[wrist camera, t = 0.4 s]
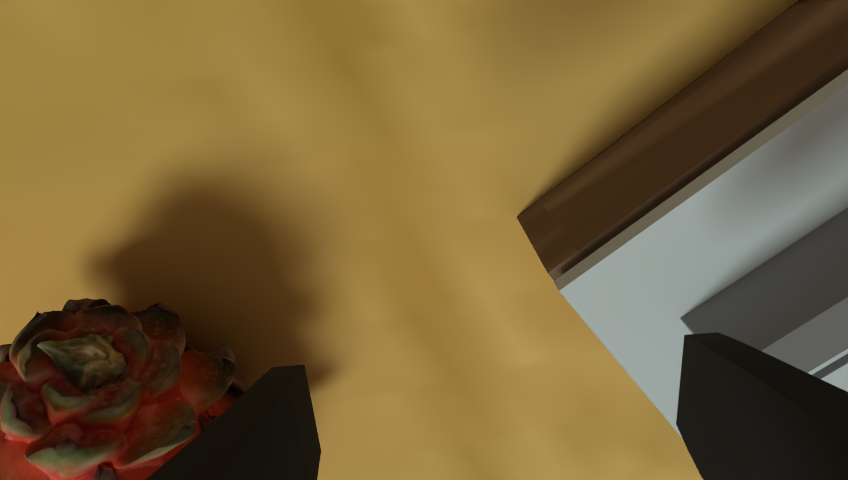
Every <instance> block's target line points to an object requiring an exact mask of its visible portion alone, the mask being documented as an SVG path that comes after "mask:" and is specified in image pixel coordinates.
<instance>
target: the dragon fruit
mask: <svg viewBox="0 0 848 480" xmlns="http://www.w3.org/2000/svg"><path fill="white" fill-rule="evenodd" d="M236 373H237V362H236V358H235V354H234V352H233V351H232V350H231V349H230V348H229V347H228V346H227V344H224V345H222V346H220V347H218V348H216V350H215V352H214V353H210V352H205V353H204V352H197V351H196V350H195V349H194V348H193V347H192V346H191V345H190V344H189V343H187V342H186V337H185V332H184V329H183V326H182V323H181V321H180V318H179V316H178V314H177V313H175V312H174V311H173V310H172V309H171V308H169V307H167V306H165V305H163V304H162V303H156V304H154V305H152V306H150V307H148V308H147V309H145V310H143V311H137V312H132V313H129V312H128V311H127V310H126V309H125V308H123V307H122V306H120V305H111V304H110V303H108V302H107V301H106V300H105V299H98V300H93V299H88V298H86V299H80V300H71V299H70V300H68V301H67V303H66V304H65V305H64V308H63V310H62V311H51V312H43V313H42V314H41V313H38V312H37V313H36V315H35V317H34V318H33V319H32V320H31V321H30V322H29V323H28V324H27V325H26V326H25V327H24V328H23V329H22V330H21V331H20V333H19V334H18V335H17V336H16V338H15V339H14V341H13V343H12V344H6V345H1V346H0V480H145V479H147V478H148V477H149V476H150V475H152V474H153V473H154V472H155V471H156V470H158V469H159V468H160V467H161V466H162V465H163V464H165V463H166V462H167V461H168V460H169V459H171V458H172V457H173V456H174V455H175V454H177V453H178V452H179V451H180V450H181V449H183V448H184V447H185V446H186V445H187V444H188V443H190V442H191V441H192V440H193V439H194V438H196V437H197V436H198V435H199V434H200V433H201V432H202V431H204V430H205V429H206V428H207V427H208V426H209V425H210V424H211V423H212V422H213V421H214V420H216V419H217V418H218V417H219V416H220V415H221V414H222V413H223V412H224V411H225V410H226V409H228V408H229V407H230V406H231V405H232V404H233V403H234V402H235V401H236V400H237V399H238V398H239V397H240V396H242V395H243V394H244V393H245V392H246V391H247V389H246V386H245V384H244V382H243V381H241V380H239V379H237V378H236V377H235V374H236Z"/></svg>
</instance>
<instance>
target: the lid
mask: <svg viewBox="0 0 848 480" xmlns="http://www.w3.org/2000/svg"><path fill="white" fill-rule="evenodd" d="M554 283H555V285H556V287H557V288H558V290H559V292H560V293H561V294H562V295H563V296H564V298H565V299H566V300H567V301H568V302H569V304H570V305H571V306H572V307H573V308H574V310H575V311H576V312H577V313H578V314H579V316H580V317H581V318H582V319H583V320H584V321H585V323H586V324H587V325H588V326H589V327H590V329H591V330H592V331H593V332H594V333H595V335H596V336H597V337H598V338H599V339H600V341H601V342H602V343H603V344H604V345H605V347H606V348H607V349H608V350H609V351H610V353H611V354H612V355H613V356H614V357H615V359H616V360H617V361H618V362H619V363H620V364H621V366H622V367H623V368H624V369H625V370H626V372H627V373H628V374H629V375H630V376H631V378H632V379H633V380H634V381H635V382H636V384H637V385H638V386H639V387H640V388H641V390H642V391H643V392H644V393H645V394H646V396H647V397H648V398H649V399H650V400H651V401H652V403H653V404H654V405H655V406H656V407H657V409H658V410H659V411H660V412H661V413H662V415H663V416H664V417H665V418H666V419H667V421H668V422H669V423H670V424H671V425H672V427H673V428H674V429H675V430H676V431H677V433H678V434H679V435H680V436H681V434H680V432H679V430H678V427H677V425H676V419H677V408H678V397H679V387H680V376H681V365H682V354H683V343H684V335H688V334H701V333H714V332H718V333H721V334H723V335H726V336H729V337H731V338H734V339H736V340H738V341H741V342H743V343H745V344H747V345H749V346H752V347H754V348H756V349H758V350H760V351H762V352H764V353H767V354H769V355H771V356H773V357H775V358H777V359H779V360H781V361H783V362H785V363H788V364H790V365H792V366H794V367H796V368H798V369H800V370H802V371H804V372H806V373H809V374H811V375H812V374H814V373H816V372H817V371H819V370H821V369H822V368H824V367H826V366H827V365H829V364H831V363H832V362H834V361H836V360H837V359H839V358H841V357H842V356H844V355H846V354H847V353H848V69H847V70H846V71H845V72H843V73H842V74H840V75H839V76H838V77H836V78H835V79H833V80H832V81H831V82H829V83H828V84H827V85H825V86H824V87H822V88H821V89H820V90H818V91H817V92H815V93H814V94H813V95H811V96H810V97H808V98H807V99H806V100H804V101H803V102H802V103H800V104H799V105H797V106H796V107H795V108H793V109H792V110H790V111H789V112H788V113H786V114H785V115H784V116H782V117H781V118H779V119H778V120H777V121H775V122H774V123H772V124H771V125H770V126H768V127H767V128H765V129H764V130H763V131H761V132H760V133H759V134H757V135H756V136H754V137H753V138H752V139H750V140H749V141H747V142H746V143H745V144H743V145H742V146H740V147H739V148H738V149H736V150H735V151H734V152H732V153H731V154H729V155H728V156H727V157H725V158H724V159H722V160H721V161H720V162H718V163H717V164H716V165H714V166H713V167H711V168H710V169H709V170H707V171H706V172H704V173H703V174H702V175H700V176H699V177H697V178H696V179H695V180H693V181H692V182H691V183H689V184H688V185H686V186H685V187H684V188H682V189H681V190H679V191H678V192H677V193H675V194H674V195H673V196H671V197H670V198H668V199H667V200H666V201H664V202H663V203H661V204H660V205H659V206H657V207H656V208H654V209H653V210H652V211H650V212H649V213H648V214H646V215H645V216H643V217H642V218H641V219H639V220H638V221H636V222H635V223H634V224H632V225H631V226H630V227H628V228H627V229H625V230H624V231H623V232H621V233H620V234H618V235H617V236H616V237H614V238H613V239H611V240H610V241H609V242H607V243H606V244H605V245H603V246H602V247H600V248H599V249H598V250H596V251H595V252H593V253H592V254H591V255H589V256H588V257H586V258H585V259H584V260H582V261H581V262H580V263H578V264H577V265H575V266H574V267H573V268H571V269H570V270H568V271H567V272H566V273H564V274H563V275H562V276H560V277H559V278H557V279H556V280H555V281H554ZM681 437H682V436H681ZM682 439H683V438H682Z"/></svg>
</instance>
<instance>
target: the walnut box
mask: <svg viewBox="0 0 848 480" xmlns="http://www.w3.org/2000/svg"><path fill="white" fill-rule="evenodd" d="M847 69H848V0H799V1H798V2H796V3H795V4H794V5H792V6H791V7H790V8H789V9H787V10H786V11H785V12H783V13H782V14H781V15H779V16H778V17H777V18H776V19H774V20H773V21H772V22H770V23H769V24H768V25H766V26H765V27H764V28H762V29H761V30H760V31H759V32H757V33H756V34H755V35H753V36H752V37H751V38H749V39H748V40H747V41H746V42H744V43H743V44H742V45H740V46H739V47H738V48H736V49H735V50H734V51H733V52H731V53H730V54H729V55H727V56H726V57H725V58H723V59H722V60H721V61H720V62H718V63H717V64H716V65H714V66H713V67H712V68H710V69H709V70H708V71H707V72H705V73H704V74H703V75H701V76H700V77H699V78H697V79H696V80H695V81H693V82H692V83H691V84H690V85H688V86H687V87H686V88H684V89H683V90H682V91H680V92H679V93H678V94H677V95H675V96H674V97H673V98H671V99H670V100H669V101H667V102H666V103H665V104H664V105H662V106H661V107H660V108H658V109H657V110H656V111H654V112H653V113H652V114H651V115H649V116H648V117H647V118H645V119H644V120H643V121H641V122H640V123H639V124H637V125H636V126H635V127H634V128H632V129H631V130H630V131H628V132H627V133H626V134H624V135H623V136H622V137H621V138H619V139H618V140H617V141H615V142H614V143H613V144H611V145H610V146H609V147H608V148H606V149H605V150H604V151H602V152H601V153H600V154H598V155H597V156H596V157H595V158H593V159H592V160H591V161H589V162H588V163H587V164H585V165H584V166H583V167H582V168H580V169H579V170H578V171H576V172H575V173H574V174H572V175H571V176H570V177H568V178H567V179H566V180H565V181H563V182H562V183H561V184H559V185H558V186H557V187H555V188H554V189H553V190H552V191H550V192H549V193H548V194H546V195H545V196H544V197H542V198H541V199H540V200H539V201H537V202H536V203H535V204H533V205H532V206H531V207H529V208H528V209H527V210H526V211H524V212H523V213H522V214H520V215H519V216H518V217H517V219H518V220H519V222H520V224H521V226H522V228H523V229H524V231H525V233H526V235H527V236H528V238H529V240H530V242H531V244H532V245H533V247H534V249H535V251H536V253H537V254H538V256H539V258H540V260H541V262H542V263H543V265H544V267H545V269H546V271H547V272H548V274H549V275H550V276H551V277H552V279H553V280H554V281H555V280H556V279H557V278H559V277H560V276H562V275H563V274H564V273H566V272H567V271H568V270H570V269H571V268H573V267H574V266H575V265H577V264H578V263H580V262H581V261H582V260H584V259H585V258H586V257H588V256H589V255H591V254H592V253H593V252H595V251H596V250H598V249H599V248H600V247H602V246H603V245H605V244H606V243H607V242H609V241H610V240H611V239H613V238H614V237H616V236H617V235H618V234H620V233H621V232H623V231H624V230H625V229H627V228H628V227H630V226H631V225H632V224H634V223H635V222H636V221H638V220H639V219H641V218H642V217H643V216H645V215H646V214H648V213H649V212H650V211H652V210H653V209H654V208H656V207H657V206H659V205H660V204H661V203H663V202H664V201H666V200H667V199H668V198H670V197H671V196H673V195H674V194H675V193H677V192H678V191H679V190H681V189H682V188H684V187H685V186H686V185H688V184H689V183H691V182H692V181H693V180H695V179H696V178H697V177H699V176H700V175H702V174H703V173H704V172H706V171H707V170H709V169H710V168H711V167H713V166H714V165H716V164H717V163H718V162H720V161H721V160H722V159H724V158H725V157H727V156H728V155H729V154H731V153H732V152H734V151H735V150H736V149H738V148H739V147H740V146H742V145H743V144H745V143H746V142H747V141H749V140H750V139H752V138H753V137H754V136H756V135H757V134H759V133H760V132H761V131H763V130H764V129H765V128H767V127H768V126H770V125H771V124H772V123H774V122H775V121H777V120H778V119H779V118H781V117H782V116H784V115H785V114H786V113H788V112H789V111H790V110H792V109H793V108H795V107H796V106H797V105H799V104H800V103H802V102H803V101H804V100H806V99H807V98H808V97H810V96H811V95H813V94H814V93H815V92H817V91H818V90H820V89H821V88H822V87H824V86H825V85H827V84H828V83H829V82H831V81H832V80H833V79H835V78H836V77H838V76H839V75H840V74H842V73H843V72H845V71H846V70H847Z"/></svg>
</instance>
